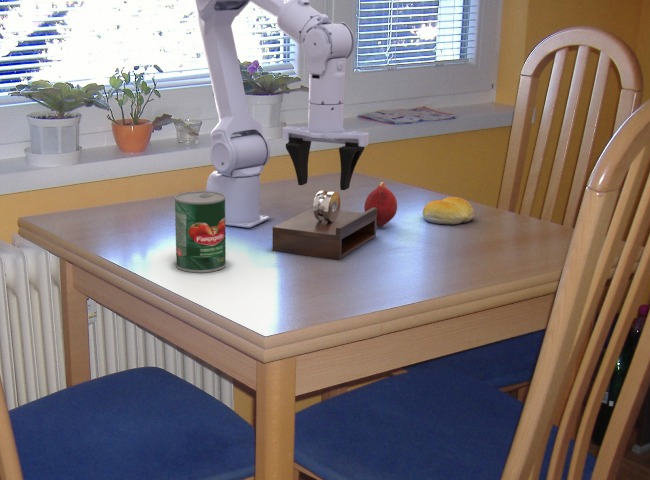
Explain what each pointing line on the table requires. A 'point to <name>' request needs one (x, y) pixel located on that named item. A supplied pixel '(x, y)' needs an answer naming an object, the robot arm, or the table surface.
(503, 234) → the table surface
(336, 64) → the robot arm
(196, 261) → the canned tomato
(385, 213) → the red squash
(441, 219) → the bread roll
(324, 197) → the grooved metal pulley
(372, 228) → the shelf
